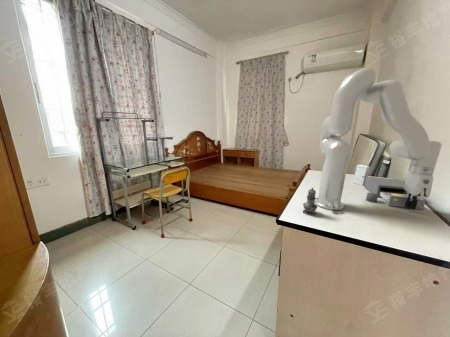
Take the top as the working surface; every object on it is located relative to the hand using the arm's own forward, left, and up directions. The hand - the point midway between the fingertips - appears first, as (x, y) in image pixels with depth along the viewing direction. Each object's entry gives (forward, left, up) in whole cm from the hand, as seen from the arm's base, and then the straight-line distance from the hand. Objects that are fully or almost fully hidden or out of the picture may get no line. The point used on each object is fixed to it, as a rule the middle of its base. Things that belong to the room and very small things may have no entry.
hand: (409, 208), depth 85 cm
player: (+21, 0, -1) cm, 22 cm away
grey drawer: (+11, 0, -1) cm, 11 cm away
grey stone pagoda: (-17, +44, -2) cm, 47 cm away
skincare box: (+36, +8, -2) cm, 37 cm away
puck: (+7, +12, -1) cm, 14 cm away
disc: (+8, 0, +1) cm, 8 cm away
